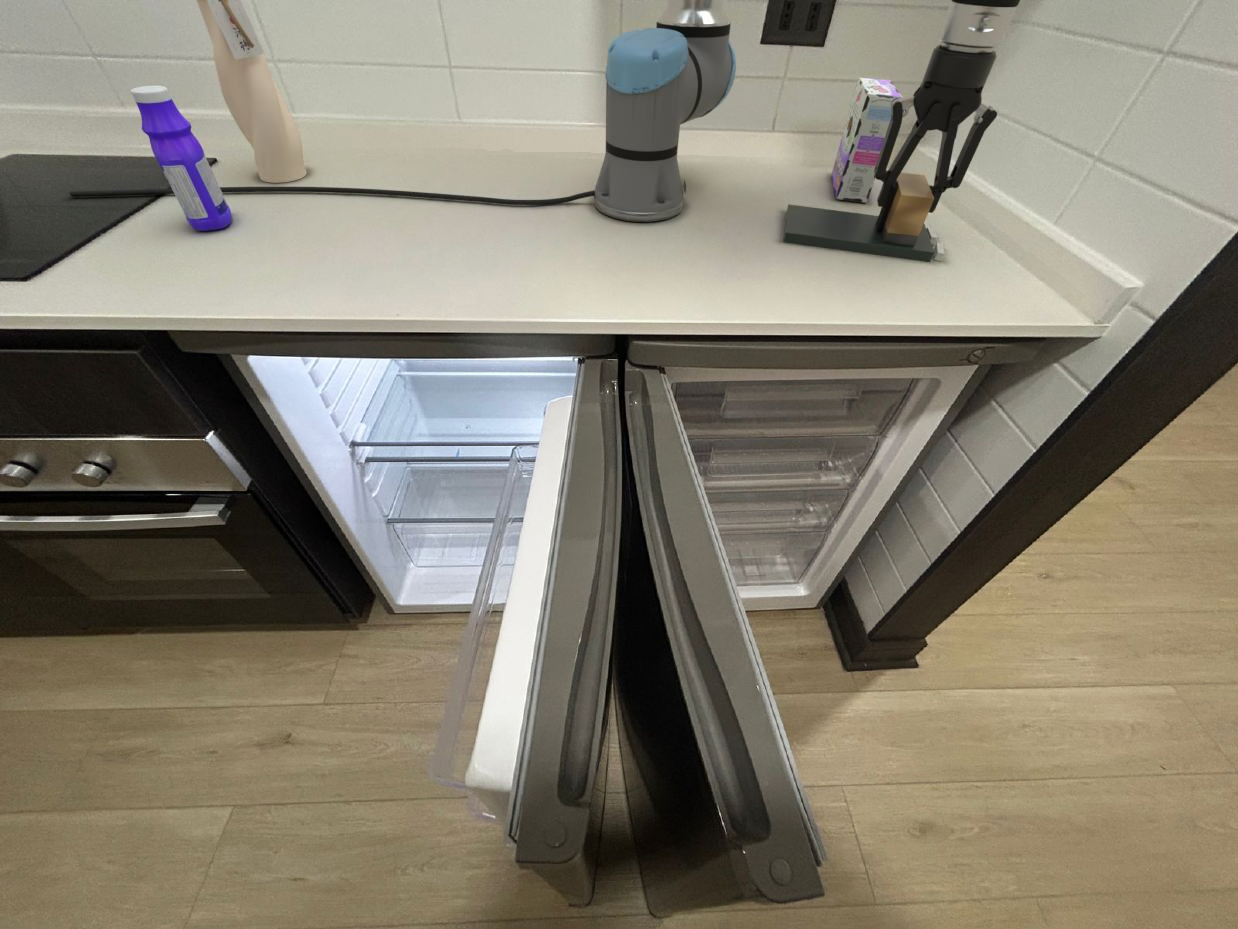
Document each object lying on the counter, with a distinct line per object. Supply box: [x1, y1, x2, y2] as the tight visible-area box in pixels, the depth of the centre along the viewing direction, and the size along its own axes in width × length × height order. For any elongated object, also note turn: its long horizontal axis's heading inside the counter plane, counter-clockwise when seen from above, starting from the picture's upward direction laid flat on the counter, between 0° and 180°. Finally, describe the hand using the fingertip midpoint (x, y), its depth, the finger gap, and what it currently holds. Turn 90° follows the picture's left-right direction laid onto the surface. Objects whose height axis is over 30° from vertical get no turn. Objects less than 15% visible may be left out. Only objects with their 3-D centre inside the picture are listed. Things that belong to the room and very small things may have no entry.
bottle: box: [130, 85, 233, 232], centre depth 78 cm, size 7×6×17 cm
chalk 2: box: [933, 241, 945, 262], centre depth 85 cm, size 4×1×1 cm
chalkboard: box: [783, 203, 934, 263], centre depth 89 cm, size 22×12×2 cm, turn 76°
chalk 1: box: [926, 226, 939, 246], centre depth 89 cm, size 4×1×1 cm
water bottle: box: [196, 0, 308, 184], centre depth 89 cm, size 10×9×28 cm
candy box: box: [830, 77, 904, 204], centre depth 98 cm, size 14×6×16 cm, turn 168°
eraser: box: [881, 172, 934, 246], centre depth 85 cm, size 4×10×7 cm, turn 166°
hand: (896, 229), depth 87 cm, fingers closed on eraser, 4 cm apart
